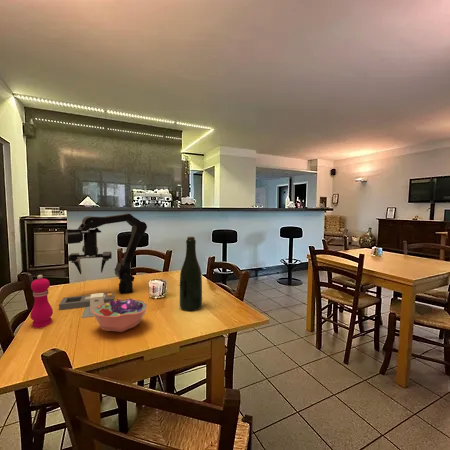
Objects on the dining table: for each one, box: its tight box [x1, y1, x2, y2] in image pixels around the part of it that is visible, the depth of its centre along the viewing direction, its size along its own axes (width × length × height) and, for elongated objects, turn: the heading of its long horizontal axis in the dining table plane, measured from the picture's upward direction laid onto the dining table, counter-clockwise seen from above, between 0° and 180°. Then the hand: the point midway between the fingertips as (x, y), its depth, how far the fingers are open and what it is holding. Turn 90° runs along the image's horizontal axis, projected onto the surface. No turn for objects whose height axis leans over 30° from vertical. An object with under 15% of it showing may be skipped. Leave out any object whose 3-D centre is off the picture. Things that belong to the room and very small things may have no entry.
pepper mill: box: [29, 274, 54, 329], centre depth 102 cm, size 7×7×20 cm
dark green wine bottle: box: [179, 236, 203, 312], centre depth 120 cm, size 10×10×33 cm
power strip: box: [58, 292, 115, 311], centre depth 123 cm, size 22×9×4 cm, turn 111°
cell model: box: [92, 298, 148, 333], centre depth 100 cm, size 17×20×11 cm
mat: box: [81, 307, 95, 319], centre depth 115 cm, size 11×11×1 cm
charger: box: [90, 292, 105, 314], centre depth 114 cm, size 5×5×7 cm
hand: (91, 273), depth 129 cm, fingers open, 9 cm apart
